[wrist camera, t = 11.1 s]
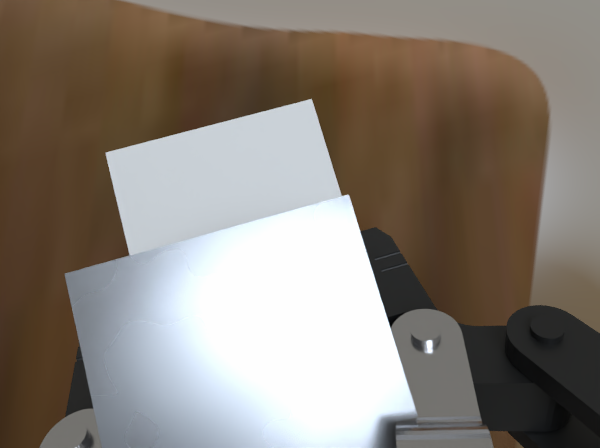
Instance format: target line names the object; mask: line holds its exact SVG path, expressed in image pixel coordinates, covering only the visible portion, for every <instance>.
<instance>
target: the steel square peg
mask: <svg viewBox="0 0 600 448" xmlns="http://www.w3.org/2000/svg"><path fill="white" fill-rule="evenodd" d="M65 278H66V282H67V287H68V292H69V296H70V301H71V306H72V310H73V315H74V320H75V324H76V329H77V334H78V338H79V343H80V348H81V352H82V357H83V362H84V366H85V371H86V376H87V380H88V385H89V390H90V394H91V399H92V404H93V408H94V413H95V418H96V422H97V427H98V432H99V436H100V441H101V446H102V448H397V445H396V421H401V420H405V419H410V418H414V417H418V415H417V412H416V409H415V406H414V402H413V399H412V396H411V393H410V390H409V386H408V383H407V380H406V377H405V374H404V370H403V367H402V364H401V361H400V358H399V354H398V351H397V348H396V345H395V342H394V338H393V335H392V332H391V329H390V326H389V322H388V319H387V316H386V313H385V310H384V306H383V303H382V300H381V297H380V294H379V290H378V287H377V284H376V281H375V278H374V274H373V271H372V268H371V265H370V262H369V258H368V255H367V252H366V249H365V246H364V242H363V239H362V236H361V233H360V230H359V226H358V223H357V220H356V217H355V214H354V210H353V207H352V204H351V201H350V198H349V195H345V196H342V197H338V198H334V199H331V200H327V201H324V202H320V203H317V204H313V205H309V206H306V207H302V208H299V209H295V210H291V211H288V212H284V213H281V214H277V215H274V216H270V217H266V218H263V219H259V220H256V221H252V222H249V223H245V224H241V225H238V226H234V227H231V228H227V229H223V230H220V231H216V232H213V233H209V234H206V235H202V236H198V237H195V238H191V239H188V240H184V241H180V242H177V243H173V244H170V245H166V246H163V247H159V248H155V249H152V250H148V251H145V252H141V253H138V254H134V255H130V256H127V257H123V258H120V259H116V260H112V261H109V262H105V263H102V264H98V265H95V266H91V267H87V268H84V269H80V270H77V271H73V272H70V273H66V274H65Z"/></svg>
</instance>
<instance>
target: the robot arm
mask: <svg viewBox="0 0 600 448" xmlns="http://www.w3.org/2000/svg"><path fill="white" fill-rule="evenodd" d="M360 233H361V236H362V239H363V242H364V246H365V249H366V252H367V255H368V258H369V262H370V265H371V268H372V271H373V274H374V278H375V281H376V284H377V287H378V290H379V294H380V297H381V300H382V303H383V306H384V310H385V313H386V316H387V319H388V322H389V326H390V329H391V332H392V335H393V338H394V342H395V345H396V348H397V351H398V354H399V358H400V361H401V364H402V367H403V370H404V374H405V377H406V380H407V383H408V386H409V390H410V393H411V396H412V399H413V402H414V406H415V409H416V412H417V415H418V417H414V418H410V419H405V420H401V421H396V445H397V448H493V444H492V440H491V436H490V433H489V431H508V433H509V434H510V435H511V436H512V437H513V438H515V439H516V440H517V441H518V442H519V443H520V444H521V445H522V446H523V447H524V448H600V333H598V332H596V331H595V330H594V329H592V328H590V327H589V326H588V325H586V324H585V323H583V322H582V321H580V320H579V319H577V318H576V317H574V316H573V315H571V314H569V313H567V312H566V311H563V310H561V309H558V308H555V307H550V306H541V305H538V306H537V305H536V306H528V307H525V308H522V309H520V310H518V311H516V312H515V313H514V314H512V316H511V317H510V318H509V320H508V322H507V326H469V325H464V324H460V323H457V322H456V321H455V320H454V319H453V318H451V317H450V316H449V315H447V314H445V313H443V312H440V311H438V310H437V309H436V307H435V306H434V304H433V303H432V301H431V300H430V298H429V296H428V295H427V293H426V292H425V290H424V289H423V287H422V285H421V284H420V282H419V281H418V279H417V277H416V276H415V274H414V273H413V271H412V269H411V268H410V266H409V265H407V262H406V260H405V258H404V257H403V255H402V254H401V253H400V250H399V249H398V247H397V246H396V244H395V243H394V241H393V239H392V238H391V237H390V236H389V235H387V234H385V233H384V232H382V231H381V230H379V229H377V228H376V227H375V228H371V229H368V230H364V231H361V232H360ZM79 345H80V343H79ZM76 359H77V362H75V367H74V373H73V378H72V383H71V389H70V394H69V400H68V405H67V411H66V416H65V418H63V419H62V420H61V421H60V422H58V423H57V424H56V425H55V426H54V427H53V428H52V429H51V430H50V431H49V432H48V434H47V435H46V437H45V438H44V440H43V442H42V443H41V445H40V448H102V446H101V441H100V436H99V432H98V427H97V422H96V418H95V413H94V408H93V404H92V399H91V394H90V390H89V385H88V380H87V376H86V371H85V366H84V362H83V357H82V352H81V348H80V347H78V351H77V356H76Z"/></svg>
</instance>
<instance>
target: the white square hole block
mask: <svg viewBox="0 0 600 448" xmlns="http://www.w3.org/2000/svg"><path fill="white" fill-rule="evenodd" d="M106 157H107V161H108V166H109V170H110V174H111V178H112V182H113V187H114V191H115V195H116V199H117V204H118V208H119V212H120V216H121V220H122V225H123V229H124V233H125V237H126V242H127V246H128V250H129V254H130V255H134V254H138V253H141V252H145V251H148V250H152V249H155V248H159V247H163V246H166V245H170V244H173V243H177V242H180V241H184V240H188V239H191V238H195V237H198V236H202V235H206V234H209V233H213V232H216V231H220V230H223V229H227V228H231V227H234V226H238V225H241V224H245V223H249V222H252V221H256V220H259V219H263V218H266V217H270V216H274V215H277V214H281V213H284V212H288V211H291V210H295V209H299V208H302V207H306V206H309V205H313V204H317V203H320V202H324V201H327V200H331V199H334V198H338V197H342V196H341V193H340V189H339V186H338V183H337V180H336V176H335V173H334V170H333V167H332V163H331V160H330V157H329V154H328V150H327V147H326V144H325V141H324V137H323V134H322V131H321V128H320V124H319V121H318V118H317V115H316V111H315V108H314V105H313V102H312V99H310V100H306V101H302V102H299V103H295V104H291V105H287V106H283V107H279V108H275V109H272V110H268V111H264V112H260V113H256V114H252V115H249V116H245V117H241V118H237V119H233V120H229V121H225V122H222V123H218V124H214V125H210V126H206V127H202V128H199V129H195V130H191V131H187V132H183V133H179V134H176V135H172V136H168V137H164V138H160V139H156V140H152V141H149V142H145V143H141V144H137V145H133V146H129V147H126V148H122V149H118V150H114V151H110V152H106Z"/></svg>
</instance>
